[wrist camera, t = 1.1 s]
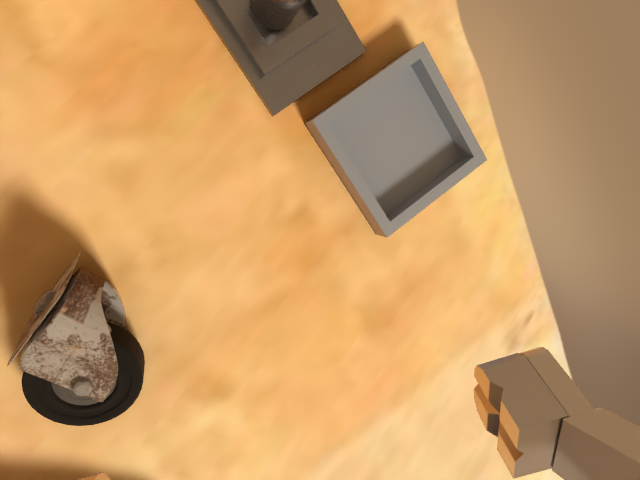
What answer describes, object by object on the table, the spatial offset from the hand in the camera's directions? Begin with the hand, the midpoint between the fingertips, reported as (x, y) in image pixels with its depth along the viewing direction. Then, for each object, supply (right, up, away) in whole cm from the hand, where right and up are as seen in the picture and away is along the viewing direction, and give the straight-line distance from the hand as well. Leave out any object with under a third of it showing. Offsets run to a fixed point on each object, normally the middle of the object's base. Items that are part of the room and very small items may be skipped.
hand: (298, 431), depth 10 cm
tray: (+7, +13, +33) cm, 36 cm away
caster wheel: (-18, -4, +28) cm, 34 cm away
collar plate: (-3, +23, +29) cm, 37 cm away
